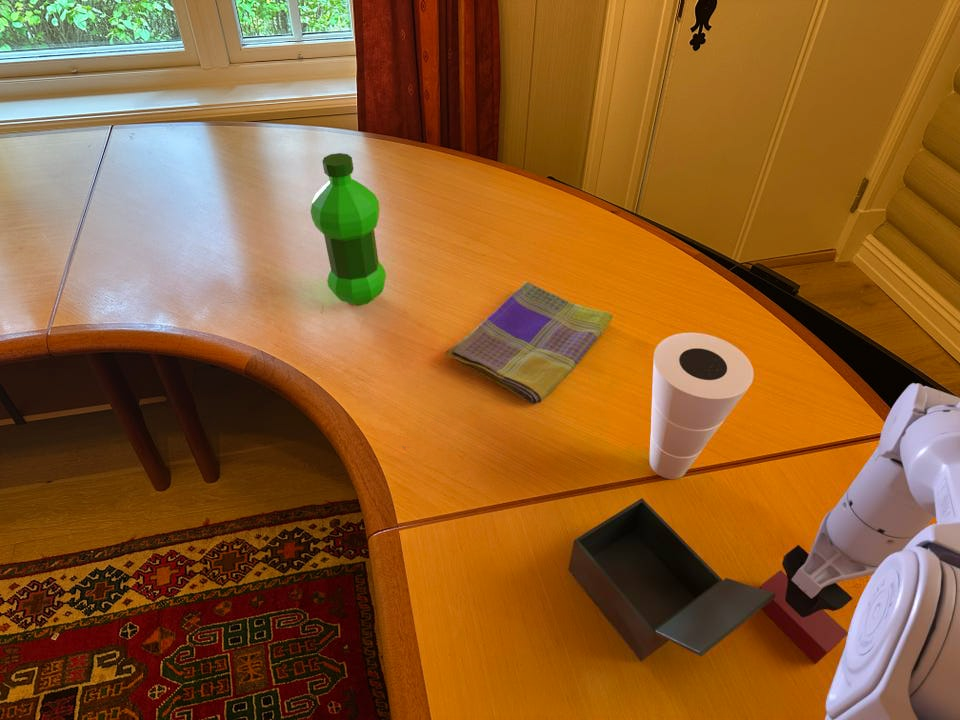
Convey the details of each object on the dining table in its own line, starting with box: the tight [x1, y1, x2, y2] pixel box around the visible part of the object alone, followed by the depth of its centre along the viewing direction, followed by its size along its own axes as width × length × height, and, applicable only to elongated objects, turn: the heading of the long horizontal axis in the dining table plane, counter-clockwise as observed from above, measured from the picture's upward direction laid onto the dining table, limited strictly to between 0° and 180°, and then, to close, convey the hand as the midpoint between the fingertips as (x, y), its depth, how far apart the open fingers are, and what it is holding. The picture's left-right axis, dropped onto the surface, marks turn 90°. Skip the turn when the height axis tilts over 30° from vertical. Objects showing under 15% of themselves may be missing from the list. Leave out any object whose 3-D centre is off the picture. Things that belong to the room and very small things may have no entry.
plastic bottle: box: [310, 152, 387, 307], centre depth 97 cm, size 10×10×25 cm
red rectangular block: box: [758, 569, 848, 665], centre depth 63 cm, size 8×4×3 cm, turn 33°
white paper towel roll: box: [648, 332, 754, 480], centre depth 73 cm, size 11×11×18 cm
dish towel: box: [444, 281, 613, 404], centre depth 96 cm, size 18×24×3 cm
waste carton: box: [567, 497, 724, 662], centre depth 64 cm, size 12×10×6 cm
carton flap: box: [656, 577, 776, 657], centre depth 55 cm, size 6×10×1 cm
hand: (820, 586), depth 59 cm, fingers open, 7 cm apart
